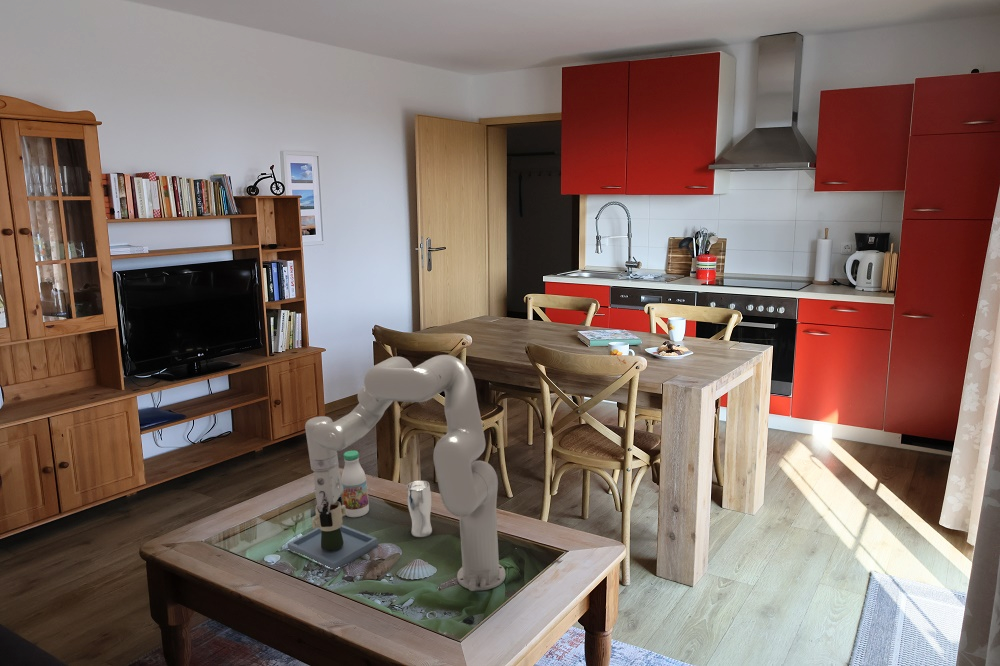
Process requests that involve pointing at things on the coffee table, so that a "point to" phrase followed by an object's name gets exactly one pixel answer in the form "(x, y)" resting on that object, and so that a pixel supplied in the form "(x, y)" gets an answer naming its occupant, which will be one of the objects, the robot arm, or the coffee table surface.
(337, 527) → the character mug
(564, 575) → the coffee table surface
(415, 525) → the beer glass
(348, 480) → the milk bottle
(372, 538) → the tray
